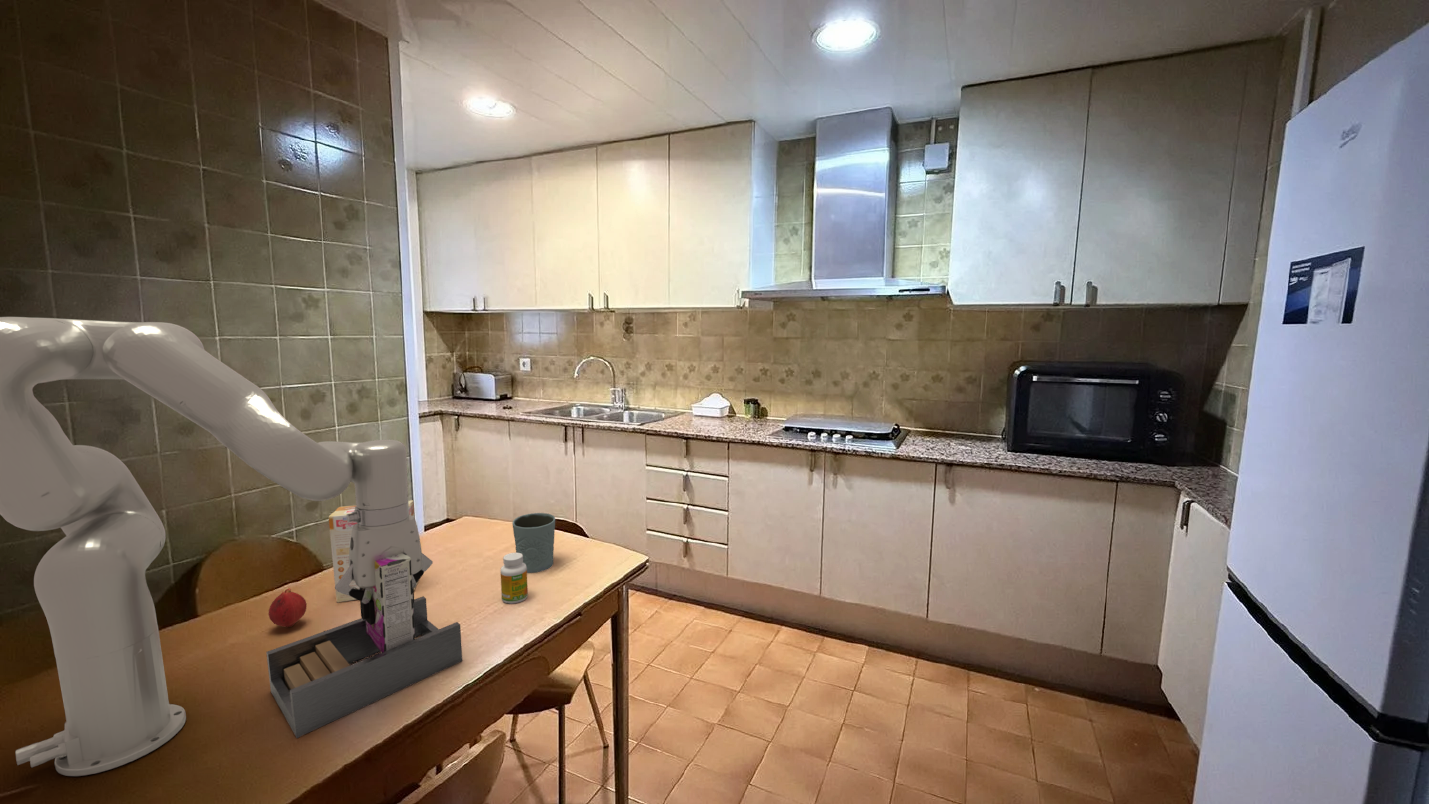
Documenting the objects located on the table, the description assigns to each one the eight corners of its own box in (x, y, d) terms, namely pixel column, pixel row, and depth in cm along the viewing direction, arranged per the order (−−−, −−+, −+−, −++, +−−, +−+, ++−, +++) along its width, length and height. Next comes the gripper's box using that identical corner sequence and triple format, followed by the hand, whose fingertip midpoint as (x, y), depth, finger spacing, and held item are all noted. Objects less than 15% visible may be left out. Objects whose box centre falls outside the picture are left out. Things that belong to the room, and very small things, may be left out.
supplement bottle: (512, 606, 115) (510, 563, 114) (496, 600, 118) (494, 557, 116) (533, 596, 119) (531, 554, 118) (517, 590, 122) (515, 549, 121)
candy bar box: (363, 633, 96) (359, 545, 94) (395, 623, 100) (391, 538, 98) (383, 660, 88) (379, 565, 86) (416, 648, 92) (413, 556, 90)
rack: (296, 738, 78) (291, 693, 77) (270, 691, 88) (266, 651, 87) (462, 660, 96) (460, 624, 95) (425, 629, 106) (423, 596, 105)
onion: (287, 636, 103) (283, 597, 102) (262, 633, 104) (258, 594, 103) (315, 620, 109) (311, 583, 108) (291, 617, 110) (287, 580, 109)
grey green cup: (540, 553, 142) (538, 510, 140) (565, 564, 136) (564, 518, 134) (505, 567, 133) (503, 521, 132) (530, 578, 128) (528, 530, 126)
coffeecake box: (420, 579, 127) (414, 499, 124) (413, 593, 120) (407, 509, 118) (346, 588, 122) (338, 505, 120) (335, 603, 116) (327, 516, 113)
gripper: (330, 532, 82) (337, 644, 84) (445, 507, 95) (448, 604, 97) (315, 520, 87) (323, 626, 89) (426, 498, 100) (430, 591, 102)
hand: (388, 613), depth 93 cm, fingers closed on candy bar box, 5 cm apart
